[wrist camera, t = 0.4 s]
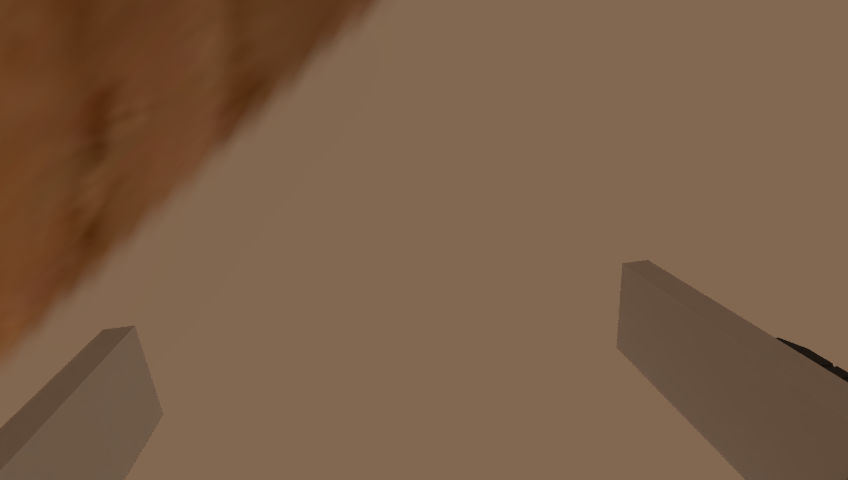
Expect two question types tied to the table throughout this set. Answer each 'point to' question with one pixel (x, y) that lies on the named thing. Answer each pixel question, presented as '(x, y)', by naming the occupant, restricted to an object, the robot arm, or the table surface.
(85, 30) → the table surface
